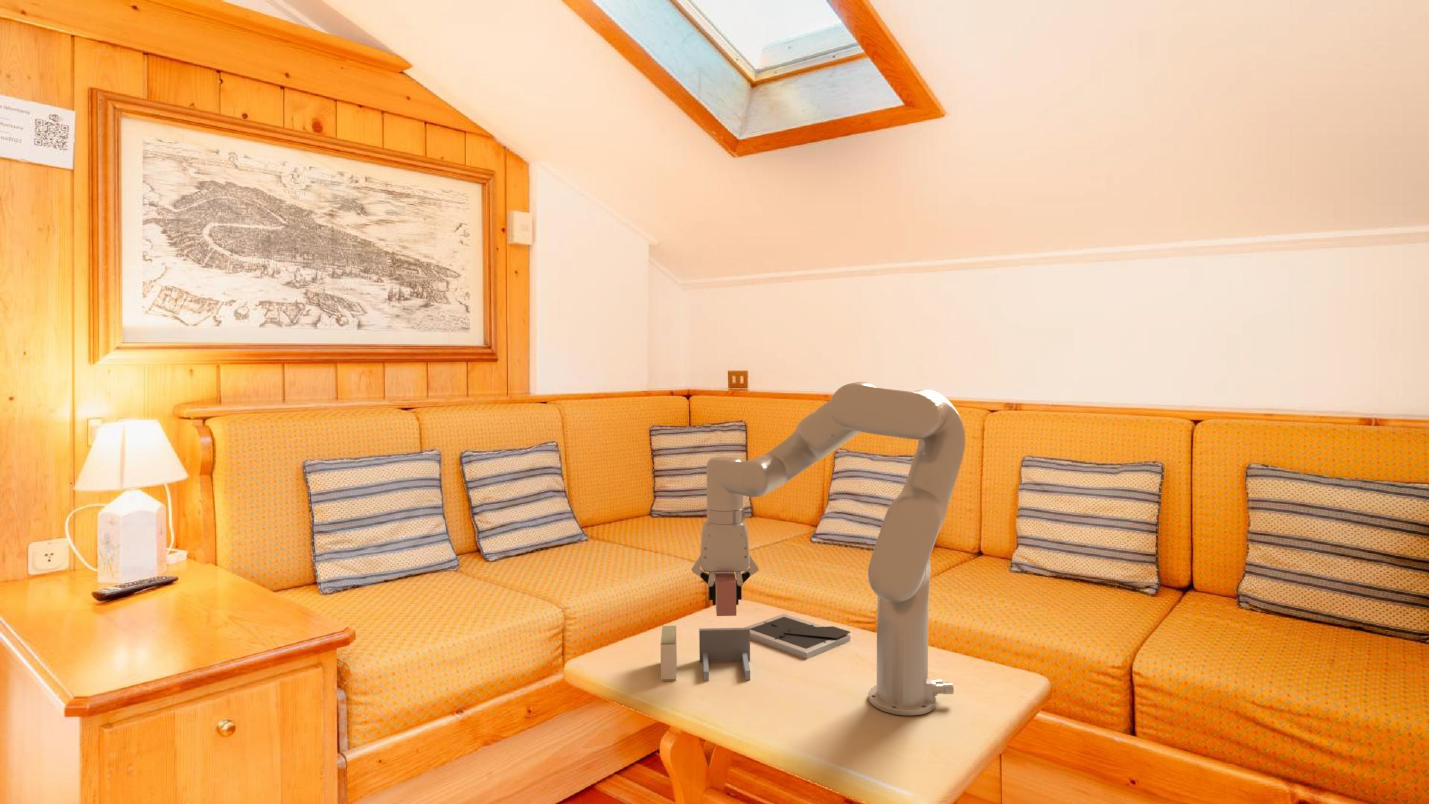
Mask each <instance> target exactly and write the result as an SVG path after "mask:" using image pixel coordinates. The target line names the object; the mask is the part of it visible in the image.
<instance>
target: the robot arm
mask: <svg viewBox="0 0 1429 804" xmlns="http://www.w3.org/2000/svg"><path fill="white" fill-rule="evenodd" d="M860 433H866V434H871V435H877V436H883V437H892V438H898V439H906V440H917V443H918V444H917V446H916V451H915V453H914V456H913V459H912V461H911V465H910V469H909V472H908V475H907V478H906V481H905V483H904V485H903V488H902V490H901V492H900V493H899V495H897V497H895V498H894V499H893V501H891V503H890V505H889V507H888V509H887V511H886V512H885V516H884V518H883V521H882V524H881V528H880V531H879V534H878V536H877V540H876V543H875V545H874V548H873V551H872V555H871V557H870V560H869V564H868V567H867V579H868V583H869V585H870V587H871V590H872V591H873V592H874V593H875V595H876V596H877V604H876V612H877V613H876V685H874V686H873V687H871V688H870V689H869V691H868V701H869V702H870V704H871V705H873V707H874V708H876V709H878V710H880V711H882V712H885V713H889V714H892V715H898V716H912V717H913V716H919V715H924V714H928V713H930V712H931V711H933V710H934V709H935V708H936V706H937V698H936V697H937V696H938V695H939V694H940V695H941V694H942V695H954V685H953V683H950V682H949V683H943V680H942V679H930V678H929V675H928V674H929V614H930V613H929V610H930V609H929V605H930V602H929V601H930V586H931V573H932V571H931V569H932V568H931V555H932V552H933V550H934V547H935V544H936V541H937V538H938V536H939V533H940V531H941V530H942V527H943V525H944V524H945V521H946V515H947V513H948V512H947V511H948V508H949V504H950V501H951V498H952V494H953V491H954V489H955V485H956V482H957V479H958V476H959V473H960V472H959V471H960V469H961V465H962V462H963V459H964V454H965V449H966V433H965V427H964V423H963V421H962V418H961V416H960V414H959V412H958V411H957V409H956V407H955V406H954V405H953V404H952V403H951V402H950V401H949V400H948V399H947V398H946V397H945V396H943V395H942V394H941V393H939V392H938V391H934V390H931V389H919V390H914V391H909V390H899V389H890V388H884V387H883V388H882V387H877V386H875V385H874V384H872V383H869V382H866V381H857V382H851V383H847V384H845V385H842V386H840V387H839V388H838V389H837V390H836V391H835V392H834V394H833V395H832V397H831V398H830V399H829V400H828V401H827V402H825V403H824V404H822V405H821V406H820V407H818V408H817V409H816V410H814V411H813V412H811V413H810V414H808V415H807V416H806V417H804V418H802V419H801V420H800V421H799V423H797V426H796V428H795V430H794V432H792V433H791V434H790V436H788V437H787V438H785V439H784V440H783V441H782V442H780V443H779V444H778V445H776V446H775V447H773V448H772V449H771V450H769V451H768V452H766V453H764V454H763V455H761V456H758V457H755V458H752V459H749V460H744V461H742V460H741V459H740V458H738V457H736V456H735V457H734V456H715V457H712V458H710V459H708V461H707V463H706V521H703V523H702V528H701V537H700V554H699V556H698V558H697V559H696V561H695V563H694V564H693V565H692V566H691V571H692V573H693V574H695V575H696V576H698V577H700V579H702V580H703V581H704V582H705V583H706V584H707V585H708V600H709V601H711V603H712V606H716V585H715V574H716V572H734V573H735V578H736V606H739V601H740V600H741V601H742V596H743V595H742V586H743V585H744V583H746V581H747V580H749V578H750V577H752V576H753V575H755V574H756V573H757V572H759V570H760V569H759V566H758V565H757V564H756V562H755V560H754V558H752V556H751V555H750V539H749V532H748V531H749V530H748V529H749V528H748V526H747V525H748V524H747V521H744V520H745V519H747V518H750V517H751V511H750V510H746V509H745V508H744V497H748V498H761V497H763V496H765V495H767V494H769V493H771V492H773V491H776V490H777V489H779V488H780V487H782V486H784V485H785V484H787V483H788V482H789V481H791V480H793V478H795V477H797V476H798V475H799V474H801V473H803V472H804V471H805V470H807V469H808V468H809V467H811V466H812V465H814V464H815V463H817V462H819V461H821V460H823V459H824V458H826V457H828V455H830V454H831V453H833V452H835V451H836V450H837V449H838V448H840V447H841V446H842V445H844V444H845V443H847V442H849V441H850V440H851V439H853V438H854V437H856V436H857V435H859V434H860Z"/></svg>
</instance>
